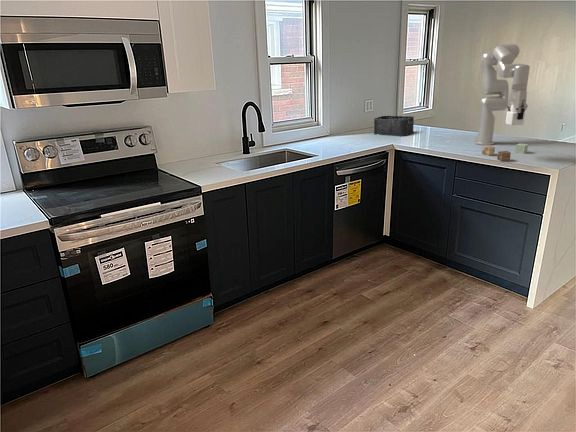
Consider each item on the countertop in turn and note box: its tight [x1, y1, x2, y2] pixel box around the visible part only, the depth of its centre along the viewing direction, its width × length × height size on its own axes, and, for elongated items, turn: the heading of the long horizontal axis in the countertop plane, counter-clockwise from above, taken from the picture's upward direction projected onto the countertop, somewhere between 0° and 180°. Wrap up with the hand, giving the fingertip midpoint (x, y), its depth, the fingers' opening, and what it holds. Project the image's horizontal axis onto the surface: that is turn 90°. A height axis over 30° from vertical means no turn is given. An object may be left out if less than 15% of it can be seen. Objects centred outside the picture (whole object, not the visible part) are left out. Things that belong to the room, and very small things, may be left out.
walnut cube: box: [496, 150, 511, 162], centre depth 247 cm, size 5×5×5 cm
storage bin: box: [373, 115, 415, 137], centre depth 347 cm, size 29×19×13 cm
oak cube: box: [481, 145, 496, 156], centre depth 262 cm, size 5×5×5 cm
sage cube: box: [515, 143, 529, 154], centre depth 263 cm, size 5×5×5 cm
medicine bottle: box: [505, 105, 526, 126], centre depth 247 cm, size 7×7×12 cm
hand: (515, 118), depth 248 cm, fingers closed on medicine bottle, 7 cm apart
